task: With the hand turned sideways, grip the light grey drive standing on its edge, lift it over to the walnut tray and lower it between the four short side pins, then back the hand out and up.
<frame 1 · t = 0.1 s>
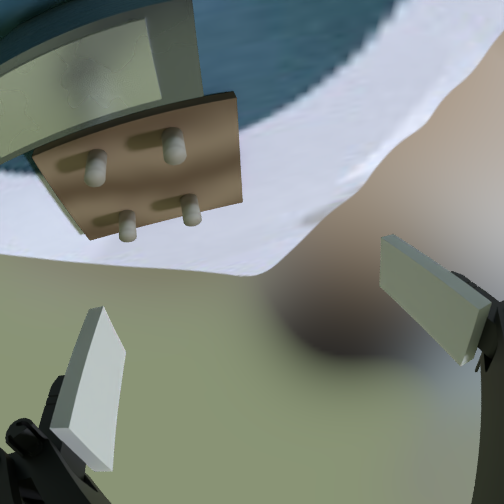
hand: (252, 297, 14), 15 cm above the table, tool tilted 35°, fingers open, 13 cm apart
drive: (97, 19, 13), on the table
pin tray: (145, 171, 25), on the table
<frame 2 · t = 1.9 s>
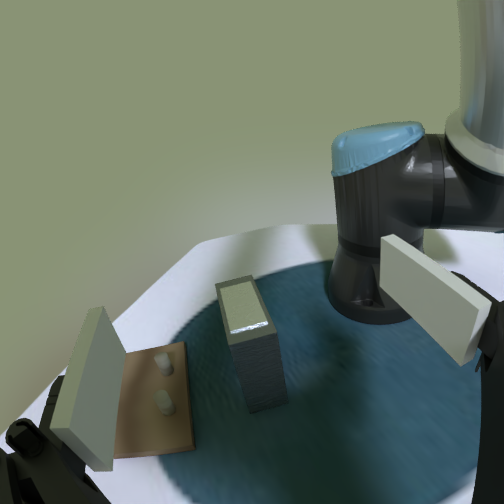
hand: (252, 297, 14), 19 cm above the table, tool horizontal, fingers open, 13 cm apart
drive: (258, 375, 33), on the table
pin tray: (140, 400, 32), on the table
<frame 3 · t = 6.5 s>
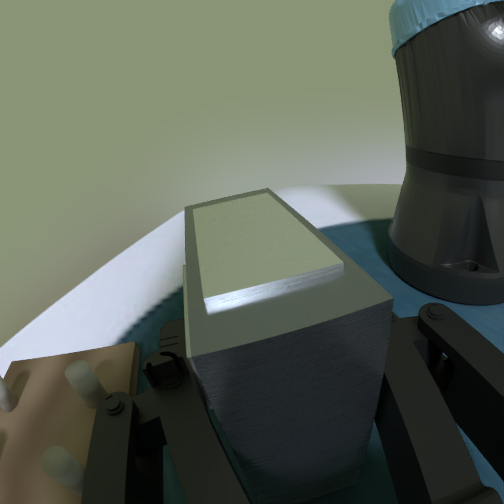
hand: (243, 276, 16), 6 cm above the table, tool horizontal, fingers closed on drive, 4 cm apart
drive: (281, 417, 14), on the table, touching gripper
pin tray: (47, 448, 13), on the table
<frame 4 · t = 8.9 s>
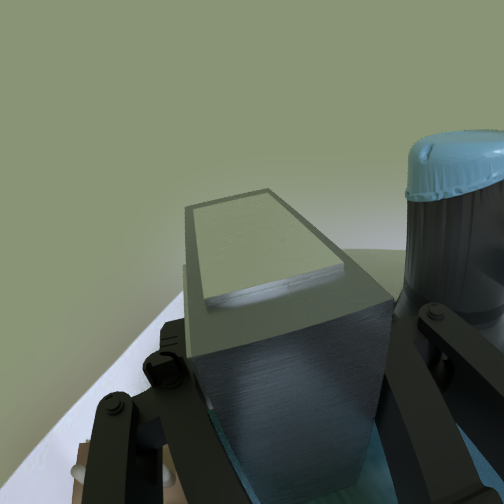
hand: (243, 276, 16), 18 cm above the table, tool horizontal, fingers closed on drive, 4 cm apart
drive: (281, 417, 14), point 12 cm above the table, touching gripper
when the fingers open (9 cm above the table, at t = 11.7 s): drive drops 2 cm, resting on pin tray.
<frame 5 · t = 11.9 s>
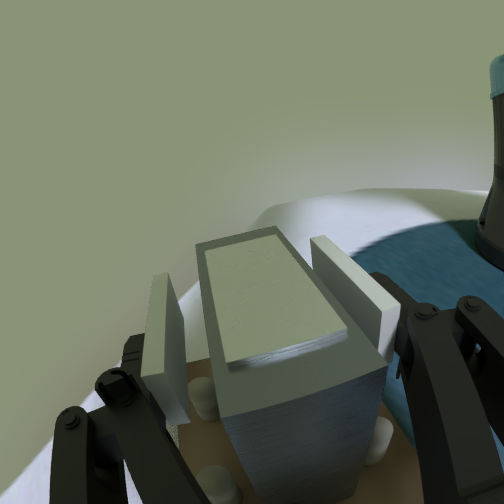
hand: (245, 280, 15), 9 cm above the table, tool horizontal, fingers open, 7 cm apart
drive: (285, 435, 15), point 1 cm above the table, touching pin tray
pin tray: (286, 442, 15), on the table
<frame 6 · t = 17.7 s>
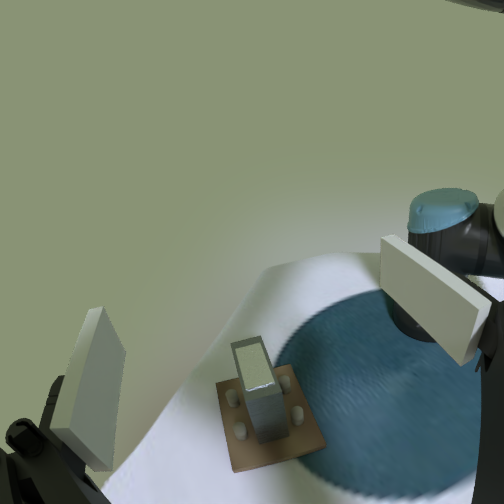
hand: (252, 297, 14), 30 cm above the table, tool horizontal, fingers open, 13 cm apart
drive: (265, 412, 39), point 1 cm above the table, touching pin tray
pin tray: (266, 416, 40), on the table
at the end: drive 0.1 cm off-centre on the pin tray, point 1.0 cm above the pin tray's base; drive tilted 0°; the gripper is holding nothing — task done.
